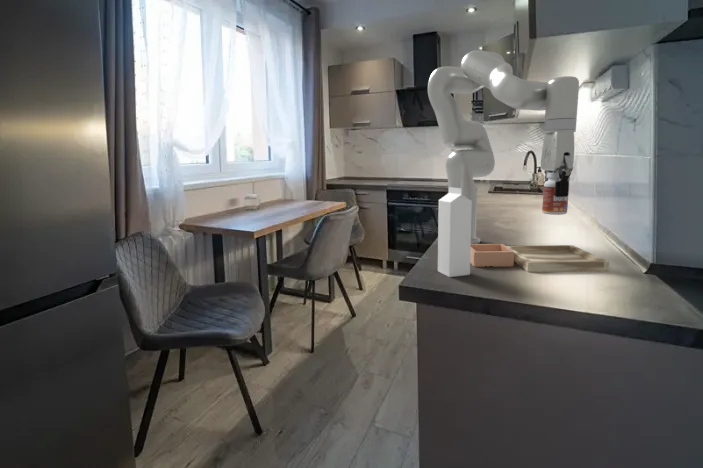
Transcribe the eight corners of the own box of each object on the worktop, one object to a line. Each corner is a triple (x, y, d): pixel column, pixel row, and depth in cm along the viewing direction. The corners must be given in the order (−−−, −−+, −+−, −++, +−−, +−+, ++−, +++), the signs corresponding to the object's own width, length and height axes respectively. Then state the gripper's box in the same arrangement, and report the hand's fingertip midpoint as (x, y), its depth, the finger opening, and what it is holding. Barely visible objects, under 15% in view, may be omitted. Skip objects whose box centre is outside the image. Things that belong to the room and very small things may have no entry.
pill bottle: (553, 215, 110) (556, 173, 108) (536, 212, 115) (539, 172, 113) (572, 214, 111) (575, 172, 109) (555, 211, 117) (557, 171, 115)
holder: (465, 257, 124) (465, 244, 123) (502, 257, 123) (502, 243, 122) (473, 266, 113) (474, 252, 112) (513, 266, 112) (514, 251, 112)
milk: (449, 277, 104) (450, 189, 100) (437, 271, 110) (437, 187, 105) (470, 274, 106) (472, 187, 102) (457, 268, 111) (459, 186, 107)
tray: (504, 254, 126) (504, 246, 126) (571, 253, 125) (572, 245, 125) (527, 271, 107) (528, 262, 106) (608, 271, 105) (609, 261, 105)
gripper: (533, 129, 118) (529, 192, 121) (559, 125, 101) (554, 198, 104) (560, 128, 118) (556, 192, 121) (591, 124, 101) (585, 198, 104)
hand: (555, 194), depth 113 cm, fingers closed on pill bottle, 6 cm apart
